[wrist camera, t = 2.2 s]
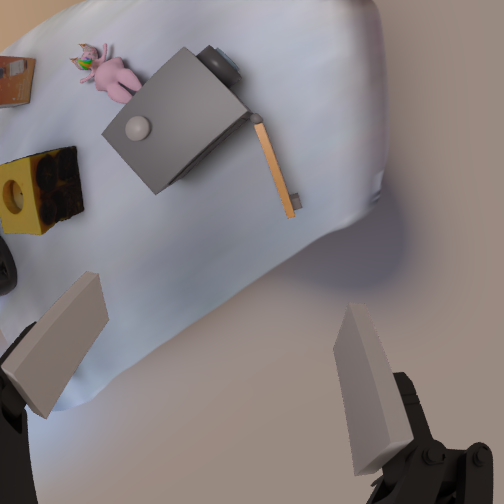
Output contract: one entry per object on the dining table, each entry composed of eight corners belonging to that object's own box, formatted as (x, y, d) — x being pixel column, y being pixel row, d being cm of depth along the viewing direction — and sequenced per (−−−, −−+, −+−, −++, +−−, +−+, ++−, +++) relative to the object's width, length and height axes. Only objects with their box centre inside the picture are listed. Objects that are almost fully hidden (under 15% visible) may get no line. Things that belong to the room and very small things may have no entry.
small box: (30, 103, 29) (-18, 108, 19) (12, 107, 29) (-33, 114, 19) (36, 57, 25) (-10, 54, 16) (17, 64, 25) (-26, 64, 16)
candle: (85, 211, 36) (43, 237, 27) (43, 212, 37) (3, 236, 28) (77, 143, 32) (30, 155, 23) (34, 153, 32) (-10, 167, 23)
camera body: (180, 180, 34) (153, 198, 26) (135, 130, 31) (97, 134, 23) (268, 103, 29) (268, 95, 21) (217, 51, 26) (200, 28, 18)
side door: (252, 117, 29) (248, 115, 24) (268, 111, 29) (267, 108, 24) (284, 205, 33) (287, 220, 28) (299, 200, 33) (304, 214, 28)
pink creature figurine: (76, 72, 28) (133, 120, 29) (48, 67, 23) (103, 117, 24) (99, 37, 26) (162, 79, 27) (72, 27, 20) (135, 67, 22)
